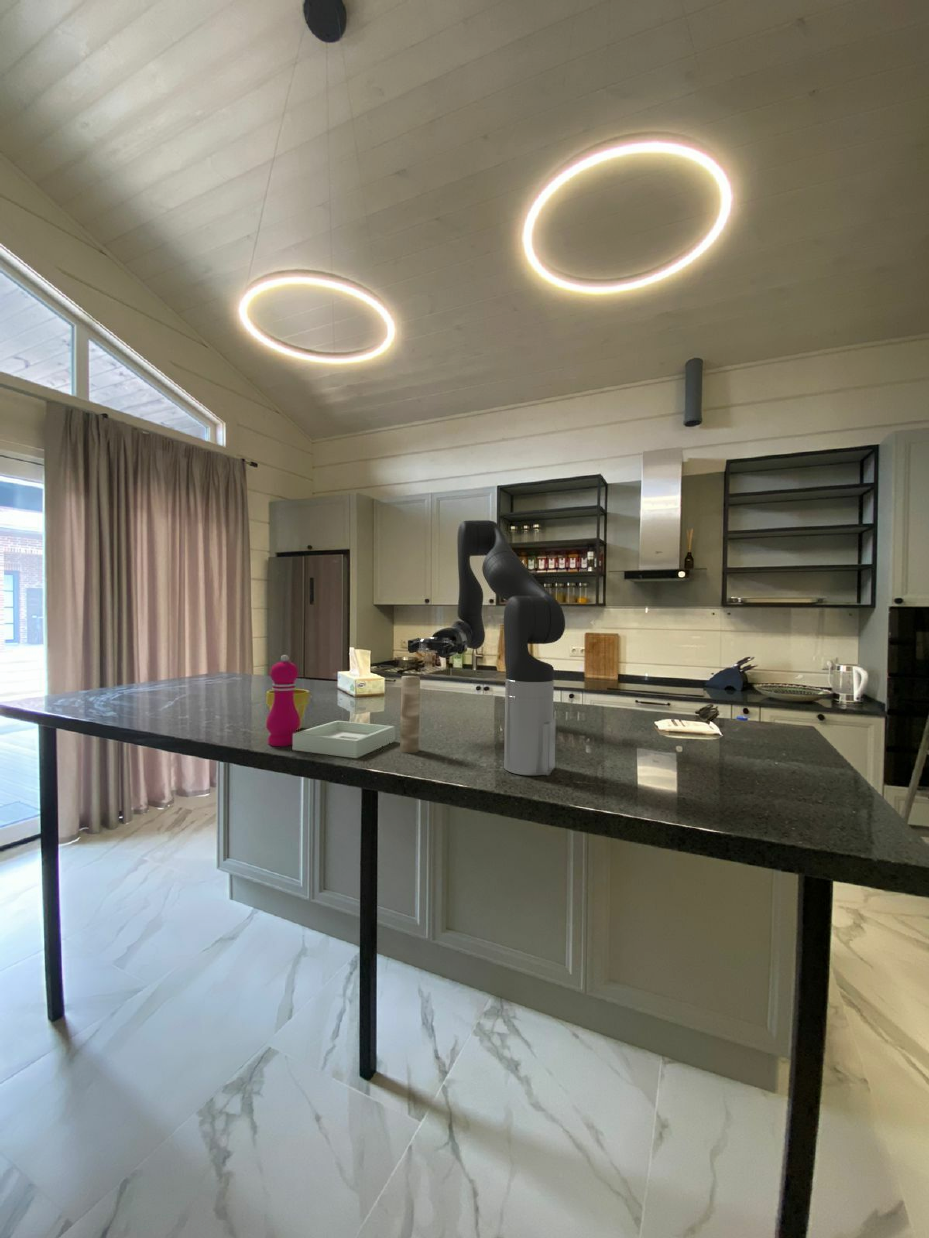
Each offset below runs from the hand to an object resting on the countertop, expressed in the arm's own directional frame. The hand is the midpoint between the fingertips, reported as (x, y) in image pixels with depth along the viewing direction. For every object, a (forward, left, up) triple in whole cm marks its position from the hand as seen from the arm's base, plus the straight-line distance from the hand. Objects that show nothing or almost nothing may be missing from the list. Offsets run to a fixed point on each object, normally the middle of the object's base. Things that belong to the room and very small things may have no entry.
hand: (427, 649), depth 117 cm
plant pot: (+37, +3, -22) cm, 43 cm away
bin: (+14, +11, -21) cm, 28 cm away
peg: (-1, +9, -21) cm, 23 cm away
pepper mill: (+28, +15, -22) cm, 39 cm away
